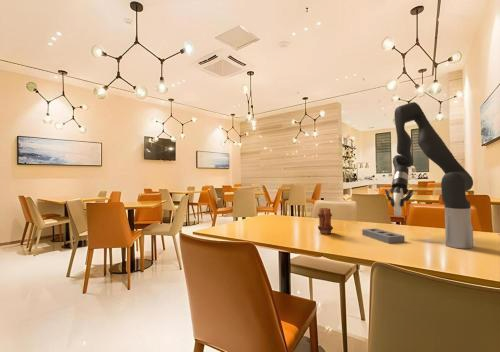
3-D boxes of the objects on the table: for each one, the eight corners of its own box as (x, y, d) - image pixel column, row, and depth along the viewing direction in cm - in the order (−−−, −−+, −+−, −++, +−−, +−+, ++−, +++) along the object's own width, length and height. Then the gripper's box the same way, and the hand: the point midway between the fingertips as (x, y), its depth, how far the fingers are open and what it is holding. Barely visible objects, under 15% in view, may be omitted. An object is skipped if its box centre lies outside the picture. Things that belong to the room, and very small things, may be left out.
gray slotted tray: (376, 233, 150) (376, 228, 150) (404, 241, 131) (404, 235, 131) (362, 234, 148) (362, 229, 148) (388, 243, 129) (388, 237, 129)
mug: (317, 231, 160) (316, 206, 160) (331, 231, 159) (330, 206, 159) (320, 237, 146) (319, 209, 146) (335, 237, 144) (335, 209, 145)
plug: (398, 215, 144) (397, 187, 144) (403, 216, 141) (402, 187, 141) (392, 215, 143) (391, 187, 143) (397, 216, 140) (396, 187, 140)
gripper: (385, 177, 152) (380, 200, 142) (414, 176, 143) (411, 201, 134) (387, 186, 156) (383, 209, 147) (415, 186, 148) (413, 211, 138)
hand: (396, 205), depth 140 cm, fingers closed on plug, 3 cm apart
